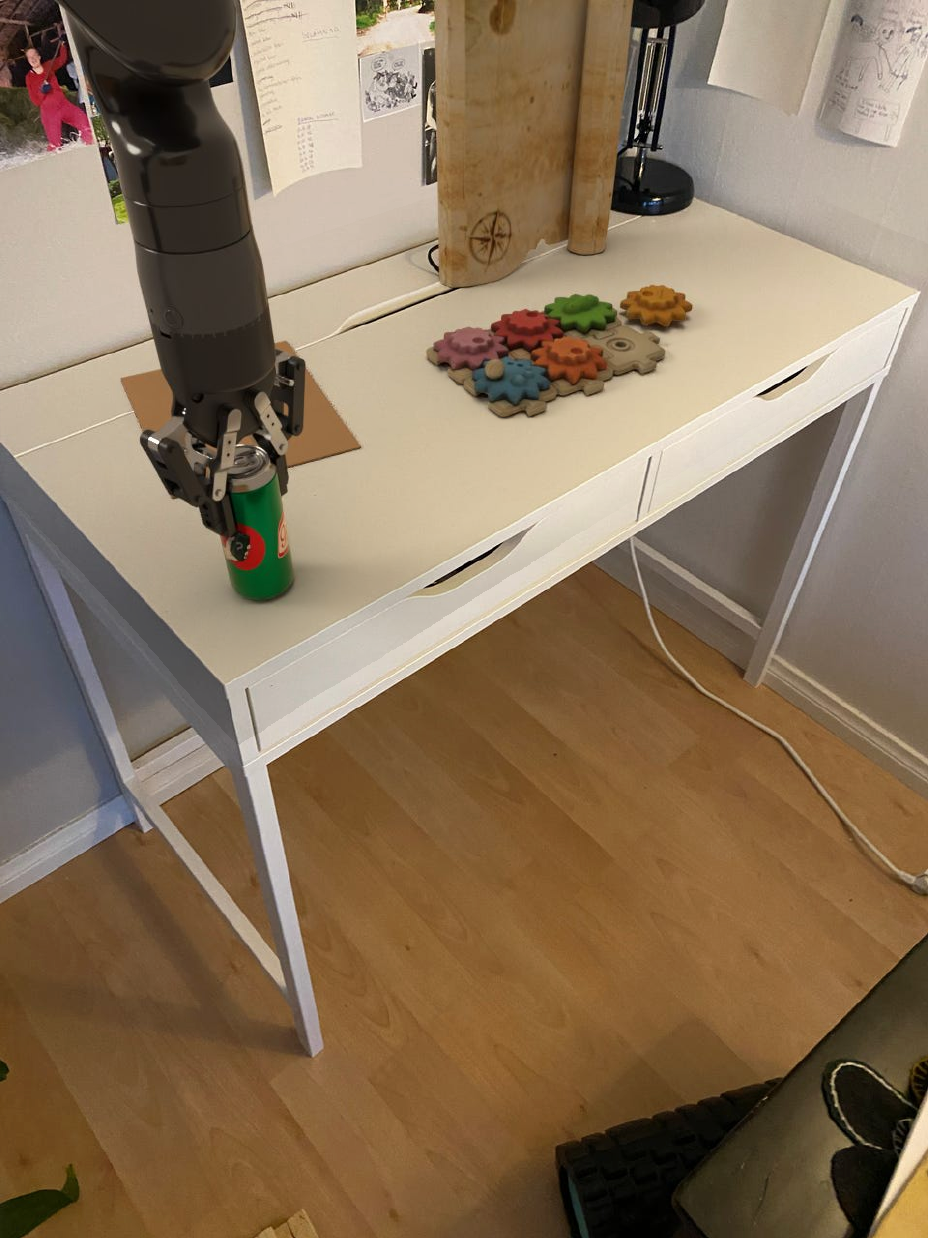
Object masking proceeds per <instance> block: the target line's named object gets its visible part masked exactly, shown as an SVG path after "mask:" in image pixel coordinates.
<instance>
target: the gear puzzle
mask: <svg viewBox="0 0 928 1238" xmlns="http://www.w3.org/2000/svg"><path fill="white" fill-rule="evenodd" d="M693 306H694V305H693V304H692V302H690V301H687V300H686V293H683V292H676V291H675V289H674V288H672V287H671V288H670V287H667V286H666V285H663V284H662V285H655V284H650V285H649V286H643V287H641V288H640V289H639V290H631V291H627V294H626V298H624V299H622V300H621V301H620V303H619V309H621V310H624V311H626V312H625V319H627V320H628V319H630V320H634V319H639V321H640V324H641V325H643V326H648V325H651V324H653V323H657V324H659V325H661V326H664V327H669V325H670V324H671V322H672V321H678V322H684V321H686V320H687V313H690V312H691V311H692V310H693ZM617 316H618V310H617V309H615V308H614V307H613V304H612V303H610V302H607V301H600V299H599V297H598V296H597V295H593V294H590V293H588V294H585V295H581V294H577V293H574V294H572V295H570V296H569V297H566V296H557V297H555V298H554V302H551V303H547V304H546V305H544V309H543V311H540V312H539V310H537V309H535V310H529V309H527V308H524V309H521V310H514V311H513V312H512V313H503V314H501V316H500V320H497V321H495V322H492V323H491V324H490V328H488V329H483V328H482V327H471V326H466V327H463V328H457V329H455V331H446V332H444V333H443V338H441V339H439V340H437V341H435V342H433V344H432V345H433V346H431V347H429V348H427V349H426V354H425V355H426V358H427V359H428V360H430V361H431V362H432V363H433V364H434V365H436V366H439V365H441V364H442V363H447V364H448V365H450V368H448V369H447V375H448V376H449V378H451V379H453V381H455V382H456V383H458V384H461V385H463V388H464V389H465V390H467V392H468V393H470V394H471V395H473V396H475V397H477V396H478V395H480V394H486V395H488V399H489V400H487V407H488V409H490V410H491V411H492V412H493V413H494V414H496V415H497V416H498V417H508V416H511V415H513V414H516V413H519V412H521V411H524V412H525V413H526V415H527V416H528V417H530V416H534V415H536V414H537V415H538V414H540V413H541V412H545V411H546V410H547V408H548V403H547V402H549V401H552V400H553V399H554V400H555V398H556V397H557V395H559V396H566V395H569V394H571V393H575V392H577V391H580V390H581V391H583V393H584V394H585V395H586V396H589V395H592V394H595V393H597V392H600V391H603V389H604V387H605V381H607V380H610V379H612V378H613V375H622V374H625V373H627V372H629V371H632V370H637V371H638V373H640V374H646V373H648V372H651V371H654V370H656V369H657V366H658V362H657V361H660V360H662V359H663V358H665V356H666V350H665V348H663V347H662V346H661V345H659V344H660V343H661V342H660V341H661V338H660V337H659V336H658V335H656V334H654V333H653V332H651V330H645V331H643V332H642V333H640V332H638V331H637V330H635V329H634V328H633V327H630V326H629V325H626V324H623V323H622V321H621V319H619V318H617Z"/></svg>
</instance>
